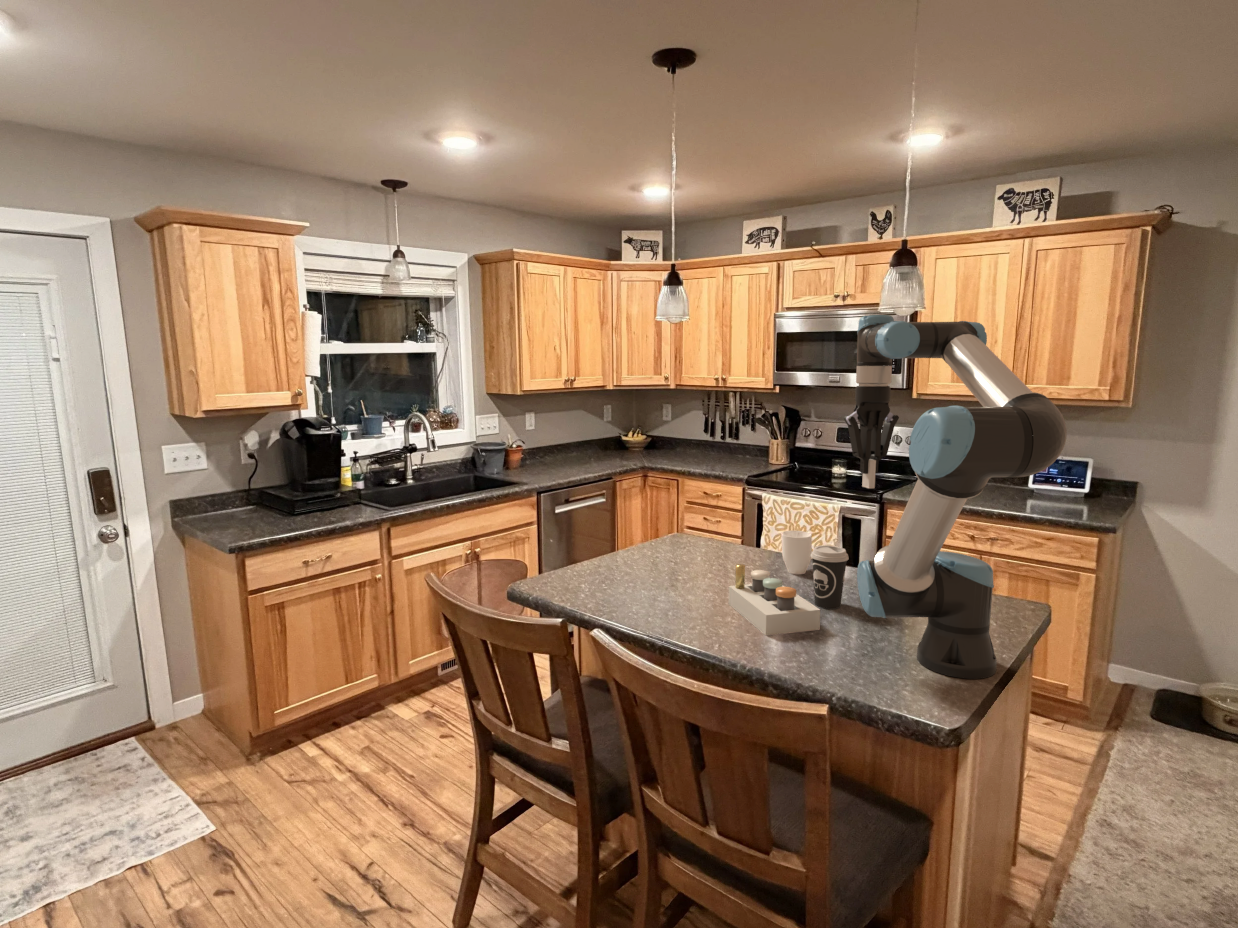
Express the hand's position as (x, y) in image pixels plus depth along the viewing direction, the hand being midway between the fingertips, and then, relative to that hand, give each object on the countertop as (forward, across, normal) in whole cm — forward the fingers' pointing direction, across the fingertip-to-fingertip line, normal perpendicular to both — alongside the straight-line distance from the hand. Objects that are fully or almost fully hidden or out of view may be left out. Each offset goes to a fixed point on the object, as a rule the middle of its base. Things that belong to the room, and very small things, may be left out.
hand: (868, 487), depth 160 cm
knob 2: (+34, +17, -13) cm, 41 cm away
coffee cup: (+35, -1, -17) cm, 39 cm away
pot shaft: (+29, +22, -22) cm, 43 cm away
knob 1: (+34, +17, -20) cm, 43 cm away
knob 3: (+34, +17, -6) cm, 39 cm away
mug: (+35, -8, -46) cm, 58 cm away
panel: (+34, +17, -13) cm, 41 cm away
